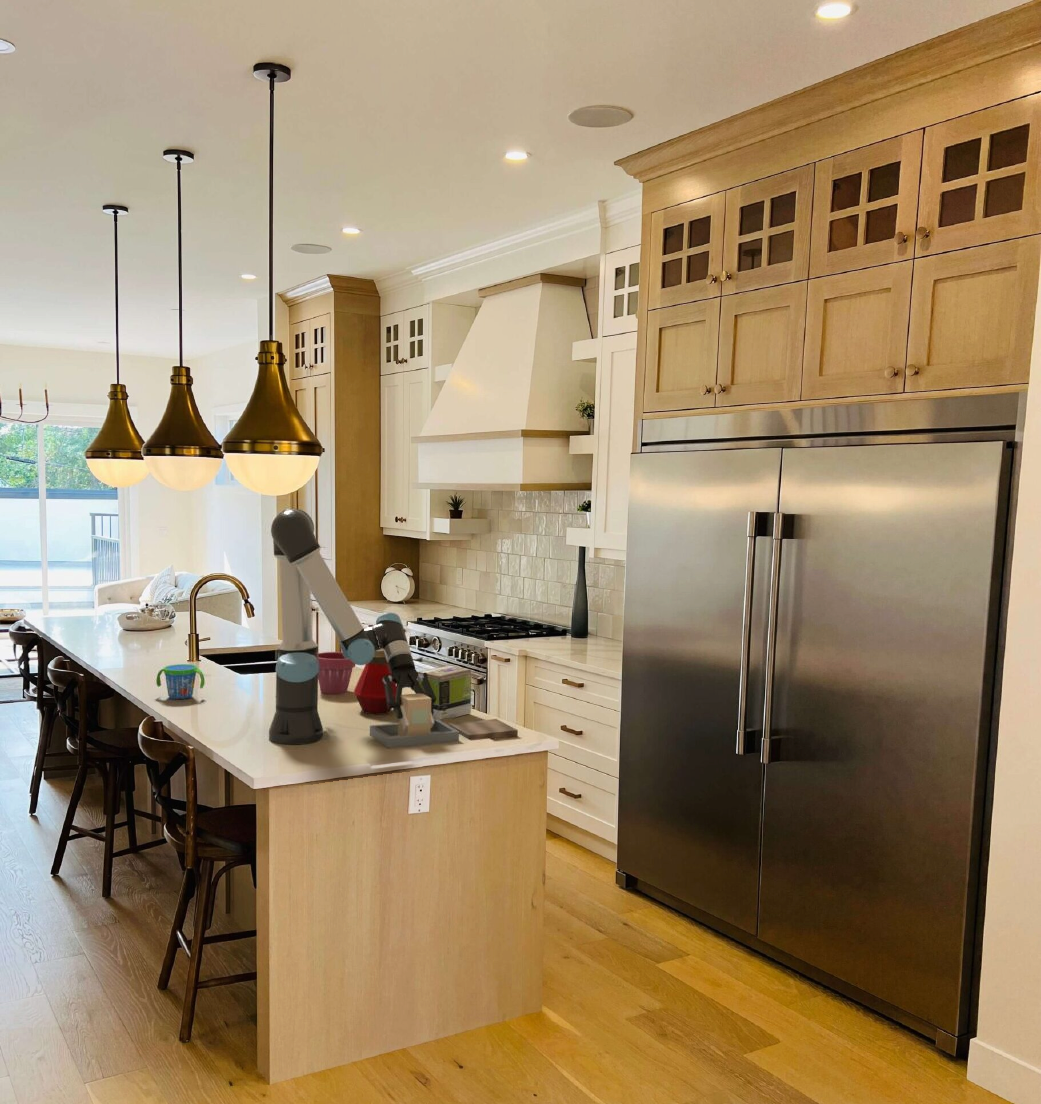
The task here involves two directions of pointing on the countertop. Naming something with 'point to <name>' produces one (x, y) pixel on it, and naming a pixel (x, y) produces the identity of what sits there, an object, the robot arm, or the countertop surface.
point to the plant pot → (334, 672)
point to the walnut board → (485, 729)
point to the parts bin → (390, 738)
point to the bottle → (374, 685)
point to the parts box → (416, 714)
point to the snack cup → (180, 680)
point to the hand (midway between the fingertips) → (419, 726)
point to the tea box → (450, 691)
